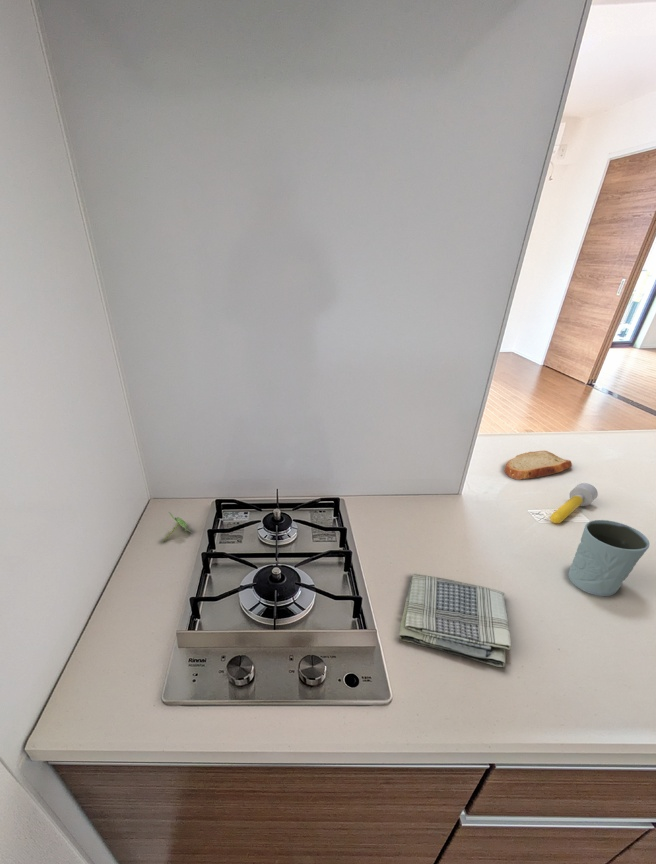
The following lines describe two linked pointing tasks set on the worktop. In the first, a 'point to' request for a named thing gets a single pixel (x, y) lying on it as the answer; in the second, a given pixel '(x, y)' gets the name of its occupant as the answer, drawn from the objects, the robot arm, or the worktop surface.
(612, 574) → the blue-green plant pot
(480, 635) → the dish towel
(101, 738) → the worktop surface
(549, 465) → the bread slice
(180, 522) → the green hummingbird figurine
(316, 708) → the worktop surface
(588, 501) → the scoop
